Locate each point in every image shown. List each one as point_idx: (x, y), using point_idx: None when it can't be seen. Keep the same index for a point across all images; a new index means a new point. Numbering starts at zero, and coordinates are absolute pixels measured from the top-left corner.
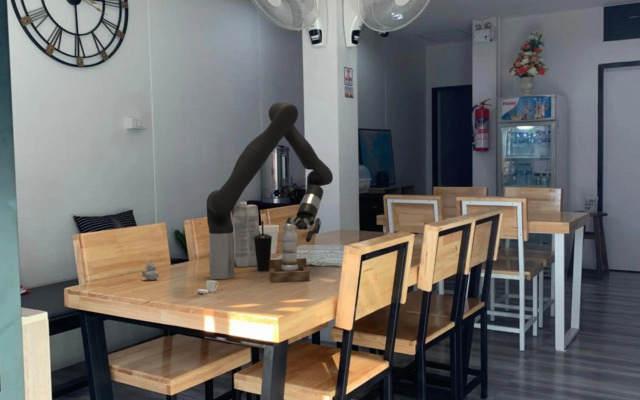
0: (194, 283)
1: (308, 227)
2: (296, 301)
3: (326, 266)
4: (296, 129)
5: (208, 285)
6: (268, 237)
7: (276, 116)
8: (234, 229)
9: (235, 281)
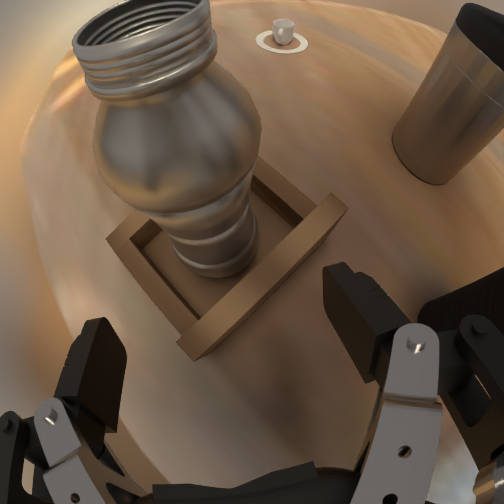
0: (392, 79)
1: (71, 452)
2: (71, 86)
3: None
4: None
5: (280, 25)
6: None
7: None
8: None
9: (345, 122)
